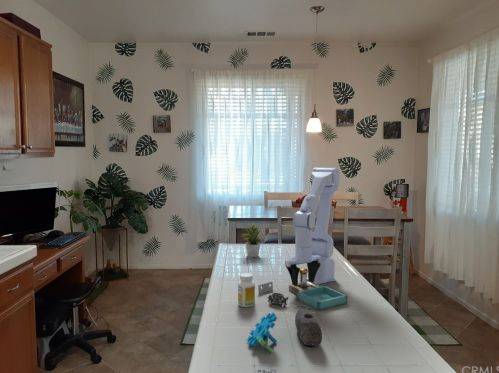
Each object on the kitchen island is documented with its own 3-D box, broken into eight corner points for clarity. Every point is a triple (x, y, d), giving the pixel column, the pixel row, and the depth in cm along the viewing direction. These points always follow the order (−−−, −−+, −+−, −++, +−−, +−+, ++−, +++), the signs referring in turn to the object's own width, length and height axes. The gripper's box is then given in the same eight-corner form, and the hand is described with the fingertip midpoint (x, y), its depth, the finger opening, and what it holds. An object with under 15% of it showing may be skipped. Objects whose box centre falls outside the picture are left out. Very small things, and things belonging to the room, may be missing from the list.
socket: (304, 287, 137) (304, 281, 137) (317, 293, 131) (317, 287, 131) (289, 290, 134) (289, 284, 133) (301, 296, 128) (301, 290, 127)
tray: (324, 292, 131) (324, 285, 131) (347, 303, 122) (347, 295, 122) (297, 298, 125) (297, 291, 125) (318, 310, 116) (318, 302, 116)
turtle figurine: (263, 308, 119) (263, 294, 118) (270, 301, 125) (270, 288, 124) (309, 316, 113) (309, 302, 112) (315, 308, 119) (315, 295, 118)
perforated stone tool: (290, 324, 106) (291, 300, 106) (309, 324, 107) (309, 300, 106) (302, 351, 91) (303, 324, 91) (323, 351, 92) (324, 323, 91)
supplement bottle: (256, 302, 123) (257, 273, 122) (251, 308, 118) (251, 278, 117) (241, 300, 124) (241, 271, 124) (235, 306, 119) (235, 276, 119)
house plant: (236, 251, 188) (236, 219, 187) (263, 251, 190) (263, 219, 188) (238, 259, 174) (238, 224, 173) (267, 258, 175) (268, 224, 174)
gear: (248, 326, 101) (274, 304, 99) (263, 341, 102) (290, 319, 99) (242, 352, 91) (271, 328, 88) (259, 369, 91) (288, 345, 88)
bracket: (278, 303, 123) (278, 293, 122) (258, 294, 130) (258, 285, 130) (292, 298, 127) (292, 288, 126) (272, 290, 135) (272, 281, 134)
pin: (303, 289, 134) (303, 267, 134) (309, 292, 132) (309, 270, 131) (297, 291, 133) (297, 269, 132) (302, 293, 130) (302, 271, 130)
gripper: (312, 241, 138) (311, 277, 139) (280, 245, 131) (279, 283, 132) (325, 245, 132) (324, 282, 133) (291, 250, 125) (291, 289, 126)
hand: (303, 283), depth 132 cm, fingers open, 7 cm apart
